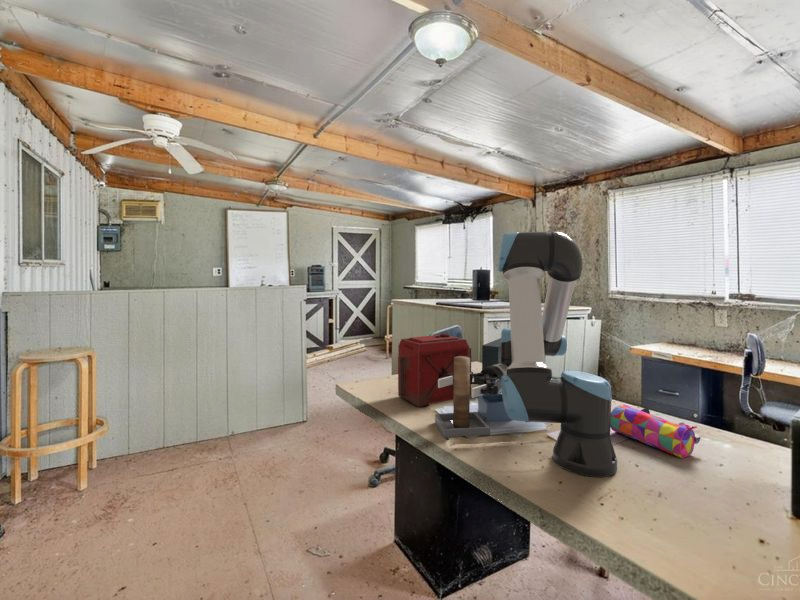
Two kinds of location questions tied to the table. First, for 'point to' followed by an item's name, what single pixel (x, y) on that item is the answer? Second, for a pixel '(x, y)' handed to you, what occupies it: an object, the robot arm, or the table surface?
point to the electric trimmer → (646, 410)
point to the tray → (475, 428)
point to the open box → (492, 407)
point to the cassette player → (491, 355)
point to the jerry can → (428, 367)
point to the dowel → (461, 392)
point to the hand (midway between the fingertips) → (454, 388)
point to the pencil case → (654, 430)
